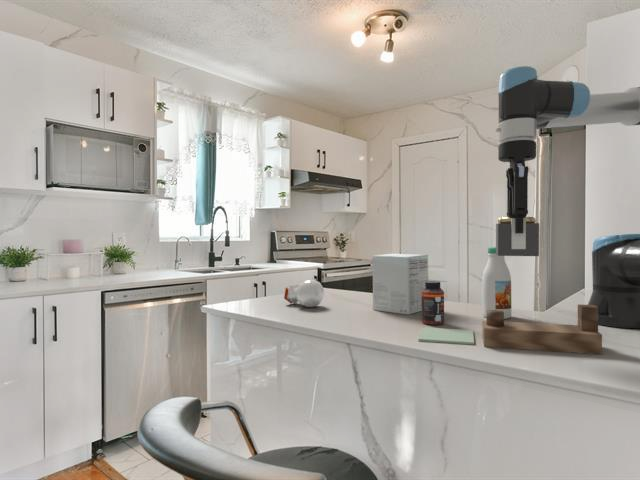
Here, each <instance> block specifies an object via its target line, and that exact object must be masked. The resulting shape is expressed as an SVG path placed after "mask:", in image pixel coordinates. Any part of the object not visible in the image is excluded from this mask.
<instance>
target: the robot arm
mask: <svg viewBox="0 0 640 480" xmlns="http://www.w3.org/2000/svg"><path fill="white" fill-rule="evenodd" d="M538 77H539V76H538V74H537V70H536V68H534V67H532V66H528V65H525V66H522V65H521V66H516V67H512V68H508V69H506V70H505V71H504V72H502V73H501V75H500V76H499V80H498V81H499V82H498V92H497V95H498V127H496V129H495V133H499V134H498V142H499V145H497V147H498V155H497V156H498V157H497V159H498V160H499V161H500V162H502V163H509V168H507V169H506V171H505V172H506V173H505V177H506V189H507V190H506V191H507V192H506V195H507V197H506V198H507V200H506V201H507V204H506V205H507V207H506V208H507V209H506V217H509V218H515V219H511V249H526V217H527V215H528V214H529V210H528V206H529V205H528V202H529V201H528V200H529V199H528V197H529V196H528V189H529V188H528V186H529V185H528V183H529V182H528V178H529V177H528V176H529V169H530V168H529V165H528V166H526V162H529V161H532V160H535V159H536V158H537V142H536V141H535V140H536V139H537V136H538V135H537V134H538V133H537V132H538V131H537V130H539V129H549V128H563V127H578V126H579V127H580V126H588V125H589V126H590V125H602V124H603V125H604V124H615V123H617V124H619V123H620V124H621V125H623V126H626V127H627V126H630V127H631V126H640V86H638V87H637V86H636V87H635V86H633V87H630V88H628V89H626V90H624V91H623V92H610V93H609V92H607V93H594V94H593V93H592V94H591V91H590V88H589V87H588V85H586V84H585V83H583V82H575V81H572V80H569V81H563V80H562V81H561V80H560V81H559V80H543V79H538ZM591 256H592V258H591V260H592V261H591V264H592V265H591V266H592V270H591V271H592V293H591V296H590V298H589V300H588V303H587V305H595V306H596V307H598V325H599V326H600V325H601V326H607V327H613V328H621V329H623V328H624V329H640V233H625V234H615V235H603V236H600V237H597V238H595V239H594V241H593V243H592V250H591Z"/></svg>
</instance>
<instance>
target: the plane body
mask: <svg viewBox="0 0 640 480" xmlns="http://www.w3.org/2000/svg"><path fill="white" fill-rule="evenodd" d="M482 342H483V346H484V348H485V347H486V348H487V347H488V348H497V349H499V348H500V349H502V348H503V349H513V350H514V349H515V350H516V349H517V350H530V351H544V352H556V351H558V352H559V351H560V352H559V353H571V352H577V353H576V354H586V353H590V355H601V354H602V355H603V334H602V333H600V332H599V324H598V307H596V306H595V305H588V304H577V324H562V323H561V324H557V323H539V322H537V323H536V322H519V321H505V319H504V312H503V311H500V310H487V317H486V320H482ZM558 352H557V353H558ZM591 353H592V354H591Z"/></svg>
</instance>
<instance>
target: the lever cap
mask: <svg viewBox="0 0 640 480" xmlns="http://www.w3.org/2000/svg"><path fill="white" fill-rule="evenodd" d="M511 219H515V218H509V217H508V216H505V217H504V216H501V217H499V218H498V220H497V221H498V223H496V224H495V247H496V255H498V256H504V257H540V222H538V223H537V222H536V221H537V219H536V218H535V217H534V216H526V249H511Z"/></svg>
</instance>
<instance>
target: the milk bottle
mask: <svg viewBox="0 0 640 480" xmlns="http://www.w3.org/2000/svg"><path fill="white" fill-rule="evenodd" d="M487 255H488V259H487V263H486V265H485V268H484V269H483V272H482V280H481V281H482V285H481V290H482V291H481V293H482V296H481V297H482V298H481V299H482V302H481V303H482V304H481V305H482V307H481V308H482V311H481V312H482V316H483V317H485V318H487V310H500V311H503V312H504V320H505V319H506V320H507V319H510V318H511V317H512V277H511V276H512V275H511V271H510V268H509V267H508V265H507V262H506V259H505V256H498V255H496V246H493V247H492V246H491V247H488V248H487Z"/></svg>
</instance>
